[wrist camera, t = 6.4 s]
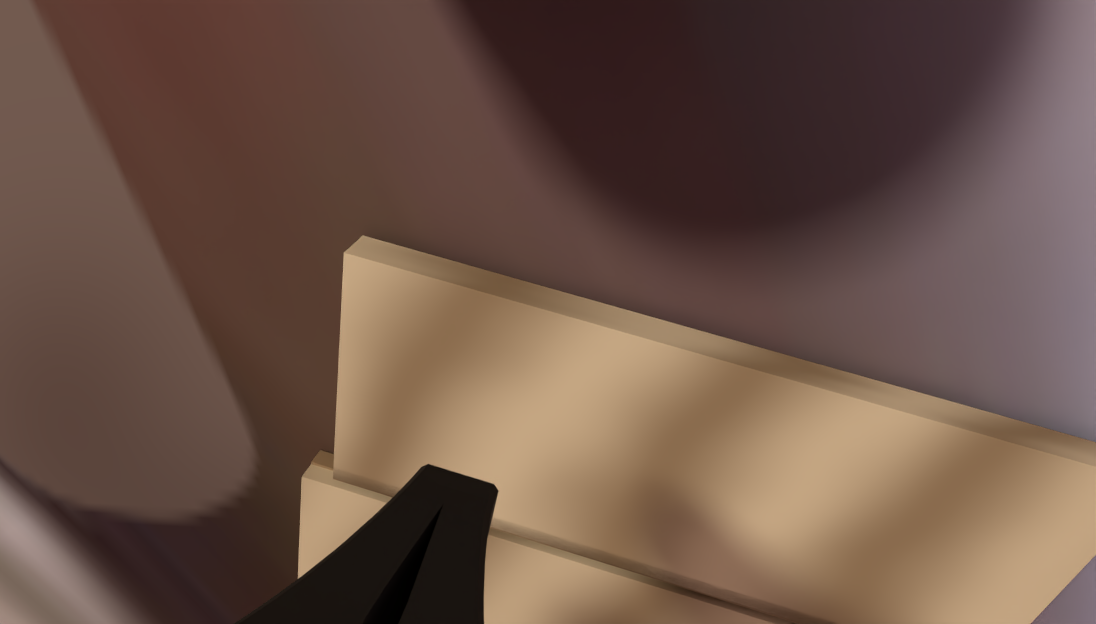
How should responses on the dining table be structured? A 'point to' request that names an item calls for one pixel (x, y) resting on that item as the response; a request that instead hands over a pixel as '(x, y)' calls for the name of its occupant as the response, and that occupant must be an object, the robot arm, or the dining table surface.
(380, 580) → the robot arm
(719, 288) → the dining table surface
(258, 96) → the dining table surface
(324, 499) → the thin wooden board
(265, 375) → the dining table surface
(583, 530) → the board
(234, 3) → the dining table surface
